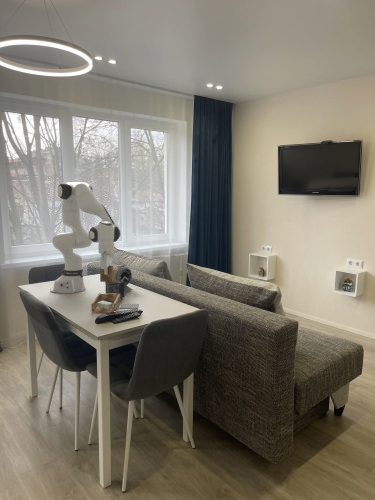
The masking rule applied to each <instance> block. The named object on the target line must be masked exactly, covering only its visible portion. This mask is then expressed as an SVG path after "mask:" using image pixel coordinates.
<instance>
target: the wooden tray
mask: <svg viewBox="0 0 375 500" xmlns="http://www.w3.org/2000/svg"><path fill="white" fill-rule="evenodd" d="M100 301H106V302H110V303H113V307H114V309H96V307H97V302H100ZM120 303H121V299H120V294H106V293H98V294H97V296H95V298H94V299H93V301H92V302H91V313H92V314H94V313H97V314H98V313H99V314H100V313H103V314H104V313H107V312H114V311H116V312H117V310H118V308H119V306H120ZM107 314H108V313H107Z"/></svg>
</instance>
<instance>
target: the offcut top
mask: <svg viewBox="0 0 375 500" xmlns="http://www.w3.org/2000/svg"><path fill="white" fill-rule="evenodd" d="M113 304H114V302H106V301H100V302H97V307H101V308H104V309H110V308H113Z"/></svg>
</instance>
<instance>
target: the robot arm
mask: <svg viewBox="0 0 375 500" xmlns="http://www.w3.org/2000/svg"><path fill="white" fill-rule="evenodd" d="M57 196H58V197H59V198H60V199H62V203H61V204H62V206H61V209H62V210H61V211H62V223H63V224H64V225H65V226H66V227H68V228H70V229H72V231H71V232H70V231H69V232H59V233H56V234H55V235H54V236H53V237H52V241H51V243H52V245H53V247H54V248H55V249H56V250H58V251H59V252H60V253H61V254H62V256H63V260H64V268H63V269H62V271H61V276H59V277H58V278H57V279H55V281H54V283H53V286H52V287H51V288H50V289H49V291H50V292H51V293H60V294H61V293H62V294H75V293H78V292H83V291H85V290H86V285H85V282H84V268H83V257H82V256H81V255H80V254H78V253H75V252H74V250H75V249H85V248H89V247H91V245H92V244H93V243H96V244H97V243H98V246H97V247H98V254H100V264H99V265H100V266H99V269H100V268H101V269H104V274H105V275H107V274H108V267H109V266H111V264H112V263H113V259H114V253H115V242H117V241H118V240H119V239H120V237H121V230H120V228H119V227H118V226H117V225H116V223H115V221H114V220H113V219H112V217H111V215H110V213H109V211H108V210H107V209H106V207H105V205H103V204H101V203H100V202H99V201H98V199H97V198H96V196H95V195H94V191H93V187H92V185H91V184H89V183H87V182H76V181H75V182H61V183H59V184H58V186H57ZM81 212H84V213H86V214H89V215H90V214H91V215H94V216H97V217H98V218H99V219H101V221H99V222H98V224H97V225H95V226H91V228H90V229H89V230H88V231H87V230H86V229H85V227H84V226H83V224H82V220H81V219H82V218H81Z"/></svg>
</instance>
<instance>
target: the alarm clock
mask: <svg viewBox="0 0 375 500" xmlns="http://www.w3.org/2000/svg"><path fill="white" fill-rule="evenodd" d="M132 273H133V272H132V271H131V269H130V268H129V267H128V266H127V265H125V264H119V265H117V266H116V267H115V268H113V280H116V281H124V293H127V292H131V291H133V290H134V289H133V288H132V287H130V286H129V284H130V283H131V281H132V278H133V275H132Z"/></svg>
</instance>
